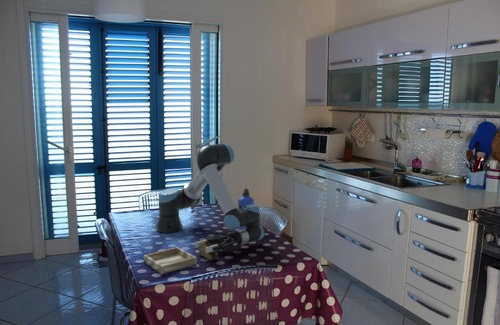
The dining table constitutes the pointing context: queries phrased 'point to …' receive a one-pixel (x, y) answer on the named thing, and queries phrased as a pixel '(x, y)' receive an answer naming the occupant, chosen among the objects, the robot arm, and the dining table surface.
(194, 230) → the dining table surface
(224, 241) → the robot arm
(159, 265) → the box
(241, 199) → the blue plastic bottle
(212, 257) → the rock
